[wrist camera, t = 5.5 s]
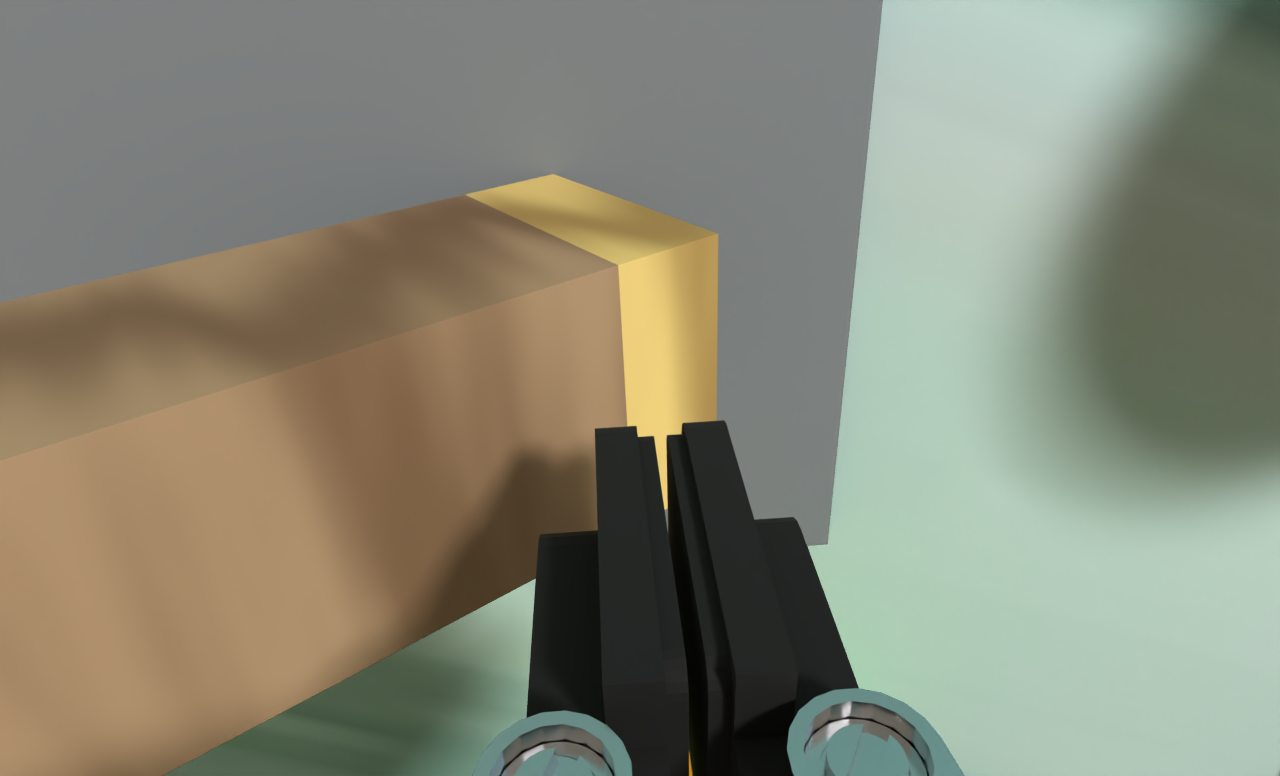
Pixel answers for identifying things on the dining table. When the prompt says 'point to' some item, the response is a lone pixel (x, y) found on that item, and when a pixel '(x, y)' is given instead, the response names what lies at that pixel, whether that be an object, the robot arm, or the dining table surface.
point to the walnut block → (316, 454)
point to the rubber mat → (467, 154)
